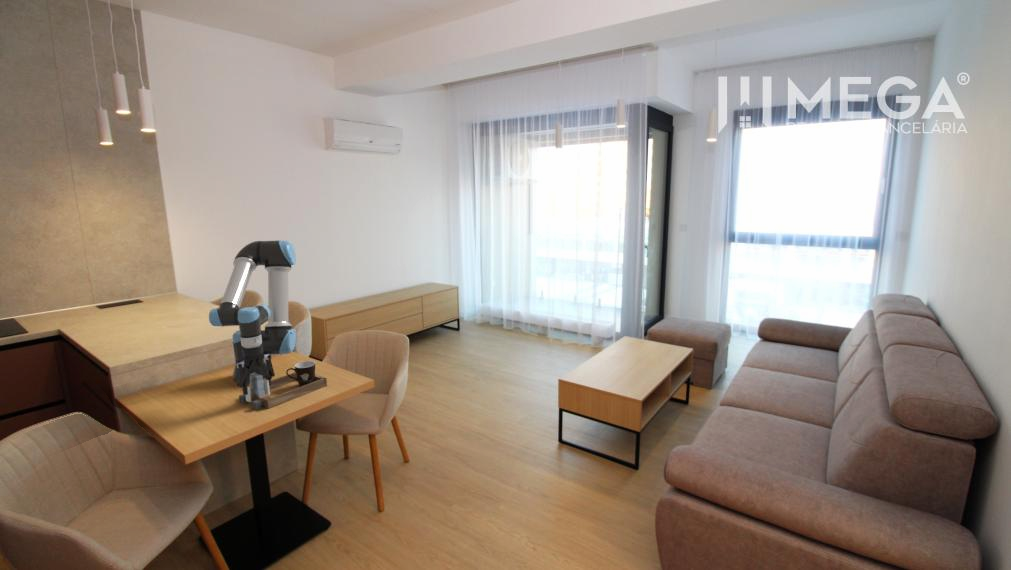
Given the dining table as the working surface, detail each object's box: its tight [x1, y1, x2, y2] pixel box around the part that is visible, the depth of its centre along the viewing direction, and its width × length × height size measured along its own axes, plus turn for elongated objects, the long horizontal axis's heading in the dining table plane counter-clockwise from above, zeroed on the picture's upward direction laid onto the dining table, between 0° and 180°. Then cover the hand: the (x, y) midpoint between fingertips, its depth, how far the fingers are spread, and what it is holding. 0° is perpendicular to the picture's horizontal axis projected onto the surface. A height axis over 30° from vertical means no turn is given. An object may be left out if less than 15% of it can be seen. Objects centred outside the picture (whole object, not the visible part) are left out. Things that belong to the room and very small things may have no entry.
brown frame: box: [249, 371, 328, 409], centre depth 208 cm, size 18×28×12 cm
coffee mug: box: [286, 360, 316, 388], centre depth 215 cm, size 12×9×10 cm
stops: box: [238, 393, 262, 411], centre depth 196 cm, size 13×2×3 cm, turn 56°
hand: (258, 397), depth 198 cm, fingers open, 7 cm apart
